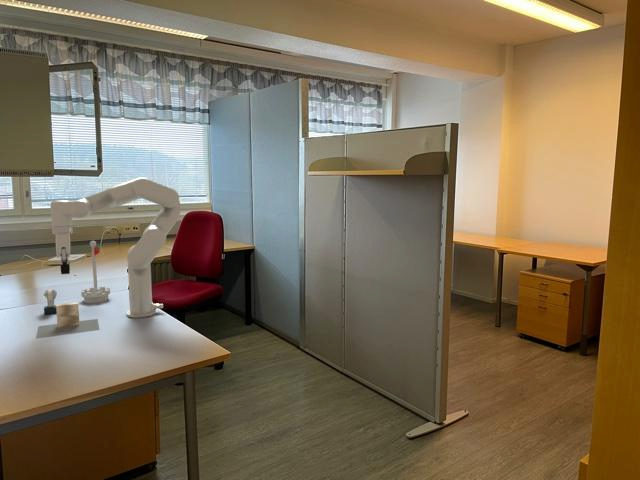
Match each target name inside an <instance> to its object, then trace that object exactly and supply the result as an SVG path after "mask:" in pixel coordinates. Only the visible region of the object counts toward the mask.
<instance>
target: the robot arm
mask: <svg viewBox="0 0 640 480" xmlns="http://www.w3.org/2000/svg"><path fill="white" fill-rule="evenodd" d="M179 195H180V194H179V193H178V191H176V190H175V189H173V188H171V187H168V186H166V185H163V184H162V183H161V184H160V183H158V182H155V181H153V180H151V179H148V178H146V177H138V178H134V179H132V180H130V181H126V182H123V183H120V184H118V185H115V186H111V187H109V188H106V189H105V190H102V191H100V192H98V193H94V194H92V195H88V196H85V197H84V198H80V199H77V200H71V201H70V200H67V199H64V200H62V199H59V200H58V199H57V200H52V201H51V202H50V215H51V229H52V231H51V232H52V234H53V235H55V251H56V258H57V259H59V257H60V274H61V275H70V270H71V268H70V265H71V264H70V262H69V261H70V260H69V258H70V255H71V234H73V233H74V229H73V218H78V219H84V218H87V217H88V216H89V215H92V214H95V213H97V212H99V211H100V212H101V211H103V210H106V209H111V208H117V207H120V206H123V205H126V204H129V203H132V202H134V201H135V202H136V200H139V199H140V200H141V199H143V200H146V201H147V202H148V201H149V202H150V203H154V204H156V205H159V206H160V209H159V212H158V213H157V215H156V216H155V218H153V220H152V221H151V223H150V224H149V225H148V226H147V227H146V228H145V229H144V231H143V233H142V236H141V237H140V239H139V240H138V241H137V242H136V244H134V245H132V246H131V247H130V248H128V250H127V253H126V261H127V262H126V263H127V274H128V275H127V277H128V279H127V281H128V297H129V298H128V299H129V302H128V303H129V310H127V311H126V313H125V315H126V317H128V318H133V319H134V318H137V319H138V318H147V317H151V316H153V315H155V314H156V313H157V309H163V308H164V304H163V303H154V302H153V295H152V294H153V293H152V272H151V271H152V269H151V268H152V267H151V266H152V265H151V263H152V262H153V260H154V259H155V258H156V257H157V255H158V254H160V253H159V252H161V250H162V248H163V247H164V246H165V243H166V241H167V235H168V234H170V231H171V230H172V229H173V227H174V226H175V224H176V223H177V221H178V220H179V217H180V215H181V201H180V196H179Z"/></svg>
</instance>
